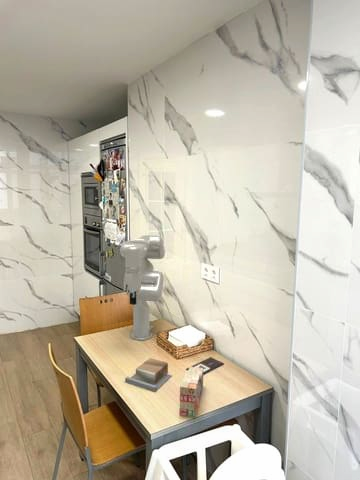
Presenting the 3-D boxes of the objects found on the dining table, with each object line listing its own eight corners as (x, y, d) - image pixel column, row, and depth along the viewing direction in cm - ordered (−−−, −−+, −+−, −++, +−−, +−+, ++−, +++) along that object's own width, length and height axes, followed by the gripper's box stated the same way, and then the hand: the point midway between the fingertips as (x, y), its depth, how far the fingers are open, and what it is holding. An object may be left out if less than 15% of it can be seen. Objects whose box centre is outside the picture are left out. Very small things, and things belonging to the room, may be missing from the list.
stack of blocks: (189, 385, 154) (189, 359, 152) (203, 387, 153) (203, 361, 151) (179, 415, 133) (179, 386, 132) (195, 418, 132) (196, 388, 130)
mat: (143, 367, 169) (143, 363, 169) (172, 376, 162) (172, 372, 161) (125, 382, 156) (125, 378, 155) (155, 392, 148) (155, 387, 148)
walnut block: (150, 357, 168) (135, 368, 157) (167, 362, 163) (154, 374, 153) (150, 367, 168) (135, 379, 158) (167, 372, 164) (154, 385, 153)
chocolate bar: (224, 363, 173) (199, 376, 161) (224, 365, 174) (199, 377, 161) (210, 357, 180) (186, 368, 168) (210, 358, 180) (186, 370, 168)
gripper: (135, 266, 186) (135, 299, 189) (118, 272, 173) (118, 307, 176) (146, 268, 183) (146, 301, 186) (130, 273, 170) (130, 309, 173)
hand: (133, 304), depth 181 cm, fingers closed
